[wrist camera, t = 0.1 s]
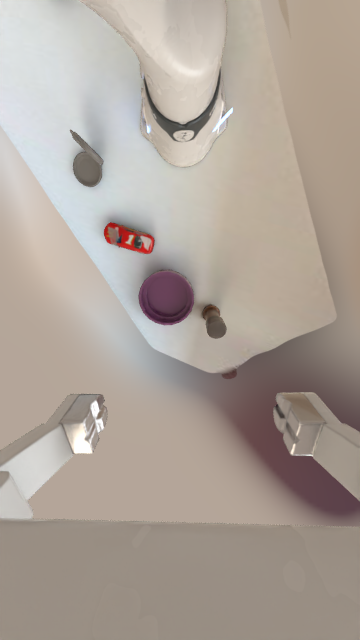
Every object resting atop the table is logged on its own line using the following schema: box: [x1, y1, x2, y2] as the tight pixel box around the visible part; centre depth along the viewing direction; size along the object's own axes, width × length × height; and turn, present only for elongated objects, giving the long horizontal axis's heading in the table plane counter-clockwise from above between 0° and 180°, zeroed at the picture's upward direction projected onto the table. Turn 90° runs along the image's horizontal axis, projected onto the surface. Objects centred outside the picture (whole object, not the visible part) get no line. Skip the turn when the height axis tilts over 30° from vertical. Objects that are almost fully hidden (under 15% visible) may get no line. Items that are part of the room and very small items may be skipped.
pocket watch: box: [70, 130, 103, 187], centre depth 40 cm, size 8×8×10 cm
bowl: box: [139, 270, 194, 325], centre depth 54 cm, size 15×15×4 cm
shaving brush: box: [203, 305, 227, 339], centre depth 52 cm, size 5×5×12 cm
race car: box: [104, 222, 154, 254], centre depth 49 cm, size 13×5×4 cm, turn 72°
